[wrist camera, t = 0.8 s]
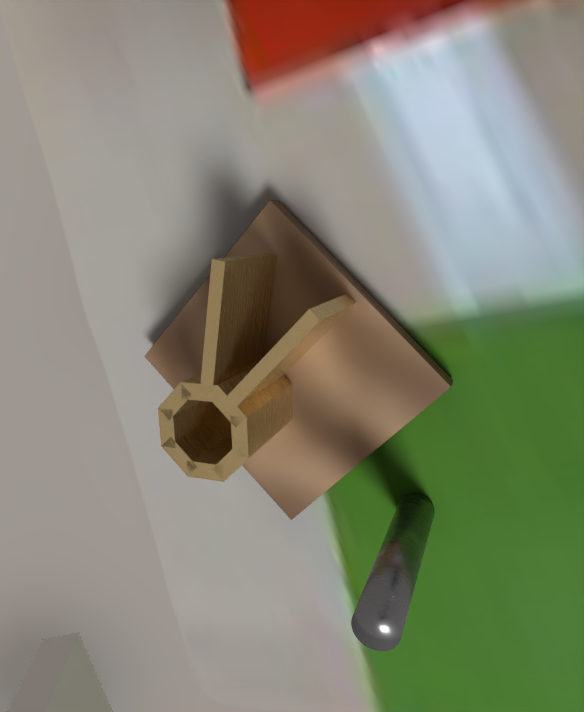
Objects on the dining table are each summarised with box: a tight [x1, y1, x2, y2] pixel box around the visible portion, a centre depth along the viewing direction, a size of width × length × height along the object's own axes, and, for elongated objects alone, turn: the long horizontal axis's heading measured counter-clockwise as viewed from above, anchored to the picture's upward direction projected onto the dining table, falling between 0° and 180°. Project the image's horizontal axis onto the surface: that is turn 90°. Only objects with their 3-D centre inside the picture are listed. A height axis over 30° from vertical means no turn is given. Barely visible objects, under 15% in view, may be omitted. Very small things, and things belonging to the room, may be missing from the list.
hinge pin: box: [351, 494, 434, 651], centre depth 31 cm, size 2×2×12 cm
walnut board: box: [145, 200, 453, 520], centre depth 37 cm, size 15×16×2 cm
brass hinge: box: [158, 253, 356, 482], centre depth 33 cm, size 13×9×7 cm
